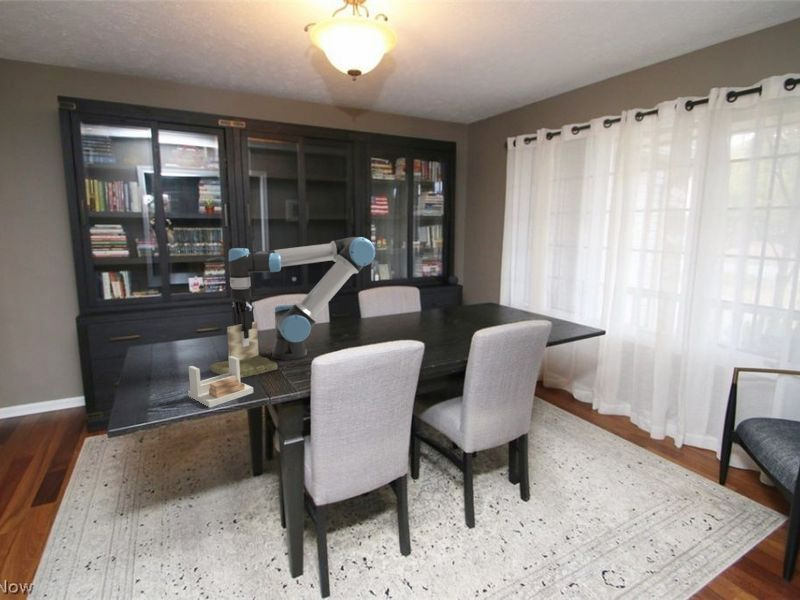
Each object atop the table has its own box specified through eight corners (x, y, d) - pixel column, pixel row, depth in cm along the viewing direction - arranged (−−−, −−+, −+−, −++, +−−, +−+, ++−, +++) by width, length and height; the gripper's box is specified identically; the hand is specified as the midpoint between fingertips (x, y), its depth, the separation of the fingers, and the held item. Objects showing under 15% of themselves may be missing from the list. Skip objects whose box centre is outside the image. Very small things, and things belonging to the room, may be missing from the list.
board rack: (231, 383, 156) (229, 355, 154) (253, 392, 147) (251, 362, 145) (188, 396, 143) (185, 365, 141) (209, 407, 135) (207, 375, 133)
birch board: (255, 354, 176) (254, 321, 173) (258, 355, 174) (257, 322, 172) (229, 361, 166) (227, 326, 164) (231, 362, 165) (229, 327, 163)
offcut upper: (232, 382, 146) (231, 376, 146) (238, 385, 143) (238, 379, 143) (210, 389, 140) (209, 383, 139) (216, 392, 137) (216, 386, 137)
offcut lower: (236, 386, 148) (236, 380, 148) (244, 389, 145) (244, 383, 145) (209, 394, 140) (208, 389, 140) (217, 398, 137) (216, 392, 137)
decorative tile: (210, 371, 170) (209, 363, 169) (255, 360, 185) (255, 352, 184) (232, 382, 158) (231, 373, 157) (279, 370, 172) (278, 361, 172)
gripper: (221, 286, 167) (224, 344, 171) (242, 290, 158) (245, 350, 162) (238, 285, 173) (241, 340, 177) (260, 288, 164) (262, 346, 168)
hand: (243, 345), depth 169 cm, fingers closed on birch board, 2 cm apart
